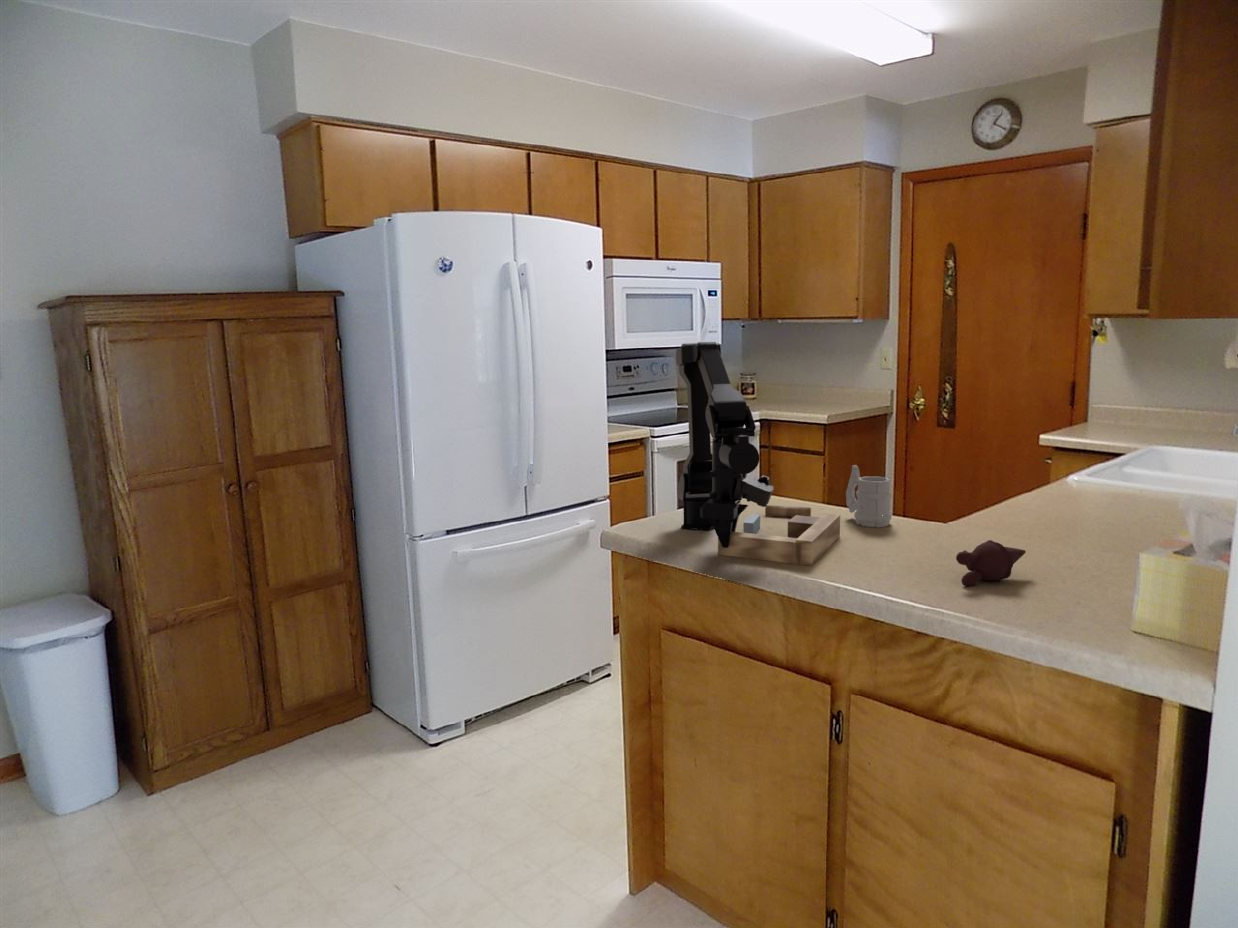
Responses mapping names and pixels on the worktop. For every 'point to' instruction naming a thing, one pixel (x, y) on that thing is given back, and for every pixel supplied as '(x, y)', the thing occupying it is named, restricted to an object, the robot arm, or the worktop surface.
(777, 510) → the dowel
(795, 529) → the block
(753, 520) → the stop batten
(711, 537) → the worktop surface
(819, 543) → the wooden l-shaped bracket
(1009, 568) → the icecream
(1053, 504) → the worktop surface
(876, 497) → the mug
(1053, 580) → the worktop surface
